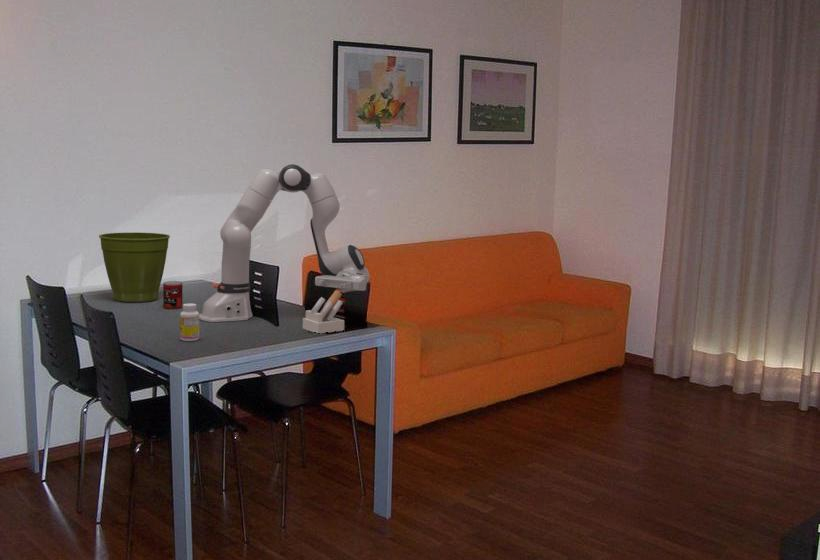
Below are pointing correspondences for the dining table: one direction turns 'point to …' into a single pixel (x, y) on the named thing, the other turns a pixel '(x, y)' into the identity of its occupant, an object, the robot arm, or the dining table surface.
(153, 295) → the plant pot
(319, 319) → the white tube holder
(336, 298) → the peg
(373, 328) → the dining table surface
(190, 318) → the supplement bottle
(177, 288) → the canned food
